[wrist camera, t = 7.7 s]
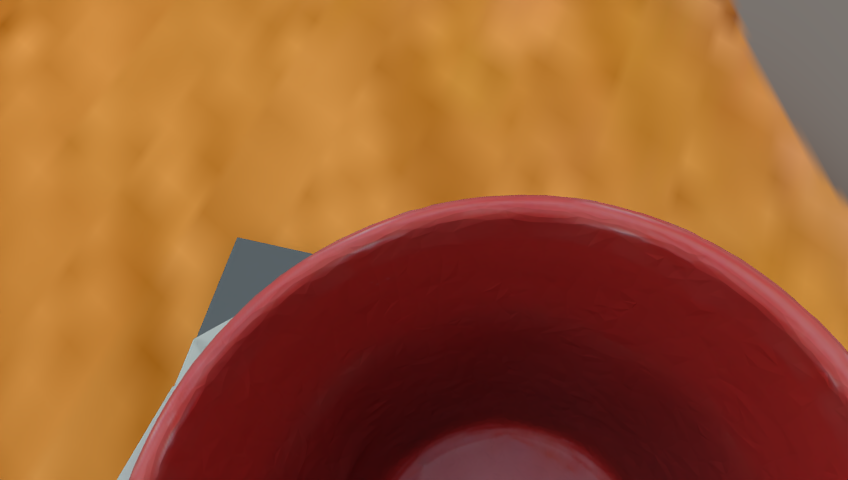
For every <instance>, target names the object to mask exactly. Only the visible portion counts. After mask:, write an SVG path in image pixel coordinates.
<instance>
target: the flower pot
mask: <svg viewBox="0 0 848 480" xmlns="http://www.w3.org/2000/svg"><path fill="white" fill-rule="evenodd" d="M129 480H848V352H847V351H846V349H845V348H844V347H843V346H842V344H841V343H840V342H839V341H838V340H837V339H836V338H835V337H834V336H833V335H832V334H831V333H830V332H829V331H828V330H827V329H826V328H825V327H824V326H823V325H822V324H821V323H820V322H819V321H818V320H817V319H816V318H815V317H814V316H813V315H811V314H810V313H809V312H808V311H807V310H806V309H804V308H803V307H802V306H801V305H800V304H799V303H798V302H797V301H796V300H795V299H794V298H792V297H791V296H790V295H789V294H788V293H787V292H785V291H784V290H783V289H782V288H781V287H779V286H778V285H777V284H775V283H774V282H773V281H771V280H770V279H769V278H767V277H766V276H765V275H763V274H762V273H760V272H759V271H758V270H756V269H755V268H753V267H752V266H750V265H749V264H748V263H746V262H745V261H743V260H742V259H740V258H738V257H736V256H735V255H733V254H731V253H729V252H728V251H726V250H724V249H722V248H721V247H719V246H717V245H715V244H714V243H712V242H710V241H708V240H705V239H703V238H701V237H699V236H698V235H696V234H694V233H692V232H690V231H688V230H686V229H683V228H681V227H678V226H676V225H674V224H671V223H669V222H666V221H663V220H660V219H657V218H654V217H651V216H649V215H646V214H642V213H639V212H635V211H632V210H628V209H624V208H621V207H617V206H613V205H609V204H604V203H600V202H597V201H591V200H585V199H578V198H568V197H558V196H548V195H509V196H489V197H478V198H470V199H463V200H457V201H451V202H446V203H440V204H435V205H431V206H428V207H425V208H422V209H417V210H411V211H408V212H405V213H402V214H399V215H397V216H394V217H392V218H389V219H386V220H384V221H381V222H378V223H376V224H373V225H370V226H368V227H366V228H363V229H361V230H359V231H357V232H355V233H352V234H350V235H348V236H346V237H344V238H342V239H339V240H337V241H336V242H334V243H332V244H330V245H328V246H326V247H325V248H323V249H321V250H319V251H317V252H316V253H314V254H312V255H310V256H309V257H307V258H306V259H304V260H302V261H301V262H299V263H298V264H296V265H295V266H293V267H292V268H290V269H289V270H287V271H286V272H285V273H283V274H282V275H280V276H279V277H278V278H276V279H275V280H274V281H273V282H272V283H271V284H269V285H268V286H267V287H266V288H264V289H263V290H262V291H260V292H259V293H258V294H257V295H255V296H254V297H253V298H252V299H251V300H250V301H249V302H248V303H247V304H246V305H245V306H244V307H243V308H242V309H241V310H240V311H239V312H238V313H237V314H236V315H235V316H234V317H233V318H232V319H231V320H230V321H229V322H228V323H227V324H226V325H225V326H224V328H223V329H222V330H221V331H220V332H219V333H218V334H217V335H216V336H215V337H214V338H213V340H212V341H211V342H210V343H209V344H208V345H207V347H206V348H205V349H204V350H203V351H202V353H201V354H200V355H199V356H198V357H197V359H196V360H195V361H194V362H193V363H192V365H191V366H190V368H189V369H188V371H187V372H186V373H185V375H184V376H183V378H182V379H181V381H180V382H179V384H178V385H177V387H176V389H175V390H174V392H173V393H172V395H171V396H170V398H169V399H168V401H167V403H166V404H165V406H164V408H163V410H162V411H161V413H160V415H159V417H158V418H157V420H156V422H155V424H154V426H153V428H152V430H151V432H150V433H149V435H148V437H147V439H146V441H145V444H144V446H143V448H142V450H141V452H140V454H139V456H138V459H137V461H136V463H135V465H134V467H133V470H132V473H131V475H130V478H129Z"/></svg>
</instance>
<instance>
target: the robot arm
mask: <svg viewBox="0 0 848 480" xmlns="http://www.w3.org/2000/svg"><path fill="white" fill-rule="evenodd" d="M176 387H177V386H173V387H172V388H171V390H170V392H169V393H168V395H167V397H166V398H165V400H164V402H163V403H162V405H161V407H160V408H159V410H158V412H157V413H156V415H155V417H154V418H153V420H152V422H151V424H150V425H149V427H148V429H147V430H146V432H145V434H144V435H143V437H142V439H141V440H140V442H139V444H138V445H137V447H136V449H135V450H134V452H133V454H132V455H131V457H130V459H129V460H128V462H127V464H126V465H125V467H124V469H123V470H122V472H121V474H120V475H119V477H118V479H117V480H129V478H130V475H131V473H132V470H133V467H134V465H135V463H136V461H137V459H138V456H139V454H140V452H141V450H142V448H143V446H144V444H145V441H146V439H147V437H148V435H149V433H150V432H151V430H152V428H153V426H154V424H155V422H156V420H157V418H158V417H159V415H160V413H161V411H162V410H163V408H164V406H165V404H166V403H167V401H168V399H169V398H170V396H171V395H172V393H173V392H174V390H175V389H176Z"/></svg>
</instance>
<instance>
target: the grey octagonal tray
mask: <svg viewBox="0 0 848 480" xmlns="http://www.w3.org/2000/svg"><path fill="white" fill-rule="evenodd" d="M310 255H312V254H310V253H306V252H301V251H297V250H292V249H288V248H283V247H278V246H274V245H269V244H265V243H260V242H256V241H251V240H247V239H242V238H238V237H237V240H236V242H235V245H234V247H233V249H232V252H231V254H230V257H229V259H228V262H227V264H226V267H225V269H224V272H223V274H222V276H221V279H220V281H219V284H218V286H217V289H216V291H215V294H214V296H213V299H212V301H211V304H210V306H209V308H208V311H207V313H206V316H205V318H204V321H203V323H202V326H201V328H200V331H199V333H198V336H197V337H196V338H195V339H194V340H193V342H192V344H191V347H190V349H189V352H188V354H187V357H186V359H185V362H184V364H183V367H182V369H181V371H180V374H179V376H178V379H177V381H176V384H175V386H177V385H178V384H179V382H180V381H181V379H182V378H183V376H184V375H185V373H186V372H187V371H188V369H189V368H190V366H191V365H192V363H193V362H194V361H195V360H196V359H197V357H198V356H199V355H200V354H201V353H202V351H203V350H204V349H205V348H206V347H207V345H208V344H209V343H210V342H211V341H212V340H213V338H214V337H215V336H216V335H217V334H218V333H219V332H220V331H221V330H222V329H223V328H224V326H225V325H226V324H227V323H228V322H229V321H230V320H231V319H232V318H233V317H234V316H235V315H236V314H237V313H238V312H239V311H240V310H241V309H242V308H243V307H244V306H245V305H246V304H247V303H248V302H249V301H250V300H251V299H252V298H253V297H254V296H255V295H257V294H258V293H259V292H260V291H262V290H263V289H264V288H266V287H267V286H268V285H269V284H271V283H272V282H273V281H274V280H275V279H276V278H278V277H279V276H280V275H282V274H283V273H285V272H286V271H287V270H289V269H290V268H292V267H293V266H295V265H296V264H298V263H299V262H301V261H302V260H304V259H306V258H307V257H309V256H310Z"/></svg>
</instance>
